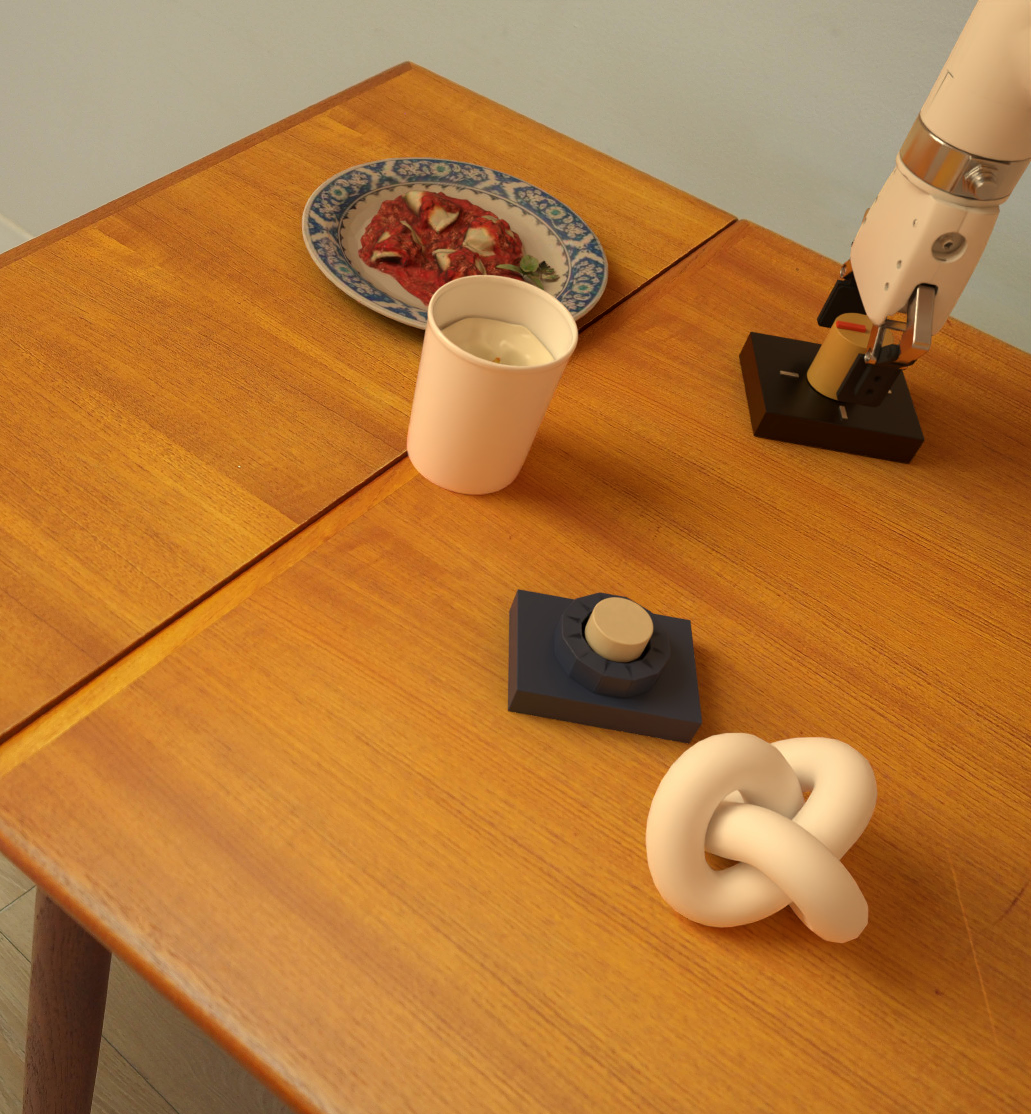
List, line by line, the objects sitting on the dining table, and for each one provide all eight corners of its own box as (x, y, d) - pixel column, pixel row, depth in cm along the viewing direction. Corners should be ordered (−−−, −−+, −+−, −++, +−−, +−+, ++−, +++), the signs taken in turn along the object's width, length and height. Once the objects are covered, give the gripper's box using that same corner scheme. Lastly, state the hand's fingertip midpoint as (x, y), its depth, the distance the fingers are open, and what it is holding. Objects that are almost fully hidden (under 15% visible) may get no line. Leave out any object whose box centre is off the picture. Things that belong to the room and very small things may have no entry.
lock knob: (858, 370, 98) (890, 315, 95) (868, 406, 95) (901, 351, 92) (802, 360, 98) (832, 304, 95) (811, 396, 95) (842, 340, 92)
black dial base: (884, 381, 102) (899, 355, 100) (909, 464, 95) (926, 438, 93) (738, 355, 102) (751, 329, 100) (753, 436, 95) (767, 409, 93)
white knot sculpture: (642, 973, 65) (705, 890, 58) (602, 774, 73) (654, 680, 66) (852, 984, 66) (938, 903, 59) (790, 786, 74) (859, 695, 67)
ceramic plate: (237, 262, 103) (240, 230, 100) (400, 147, 118) (406, 117, 116) (512, 404, 95) (522, 374, 92) (648, 261, 110) (660, 232, 108)
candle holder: (465, 524, 85) (509, 388, 76) (366, 442, 90) (397, 304, 81) (558, 468, 90) (609, 334, 82) (460, 392, 95) (498, 257, 86)
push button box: (678, 641, 80) (701, 601, 78) (689, 744, 75) (714, 705, 72) (509, 611, 80) (524, 569, 78) (507, 711, 75) (524, 671, 72)
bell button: (642, 621, 76) (651, 602, 75) (645, 667, 74) (655, 649, 73) (583, 610, 76) (592, 592, 75) (585, 656, 74) (594, 638, 73)
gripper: (1056, 239, 77) (918, 448, 90) (986, 104, 89) (873, 305, 101) (935, 218, 77) (814, 429, 90) (881, 85, 89) (781, 288, 101)
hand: (846, 363), depth 96 cm, fingers open, 8 cm apart
